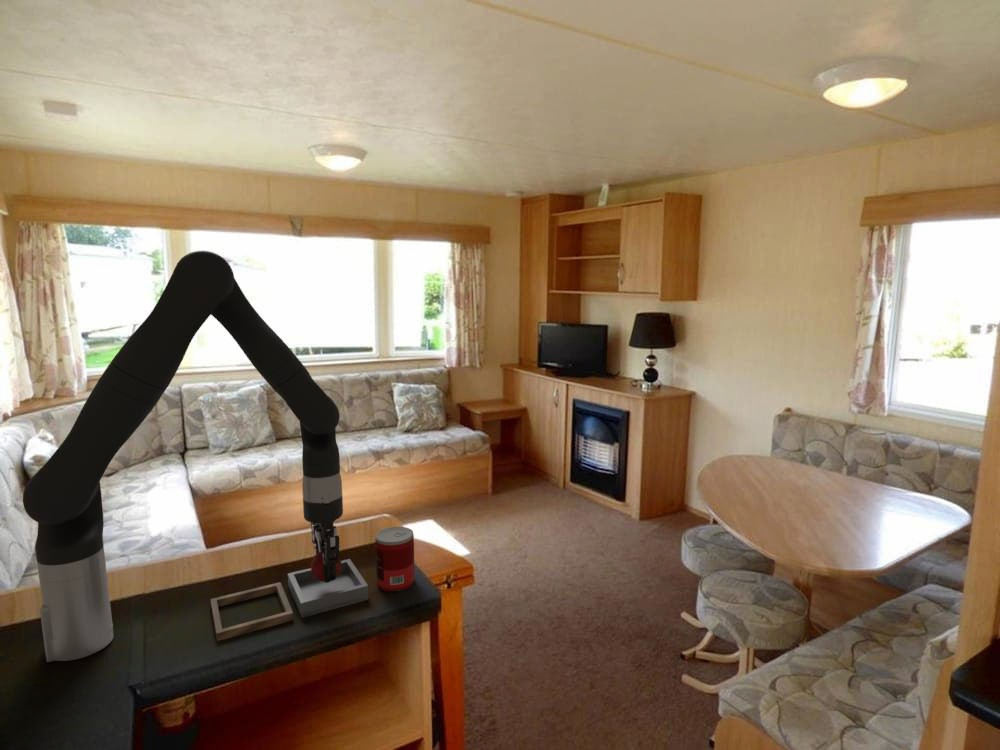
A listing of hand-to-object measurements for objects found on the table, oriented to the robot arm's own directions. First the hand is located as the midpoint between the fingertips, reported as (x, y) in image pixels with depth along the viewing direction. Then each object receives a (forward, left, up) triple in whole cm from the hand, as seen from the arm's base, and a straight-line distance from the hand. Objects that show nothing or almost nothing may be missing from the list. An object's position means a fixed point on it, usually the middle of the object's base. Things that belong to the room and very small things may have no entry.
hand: (326, 573), depth 119 cm
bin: (0, 0, -4) cm, 4 cm away
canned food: (+14, -3, -5) cm, 15 cm away
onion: (0, 0, -2) cm, 2 cm away
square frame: (-14, 0, -4) cm, 15 cm away
